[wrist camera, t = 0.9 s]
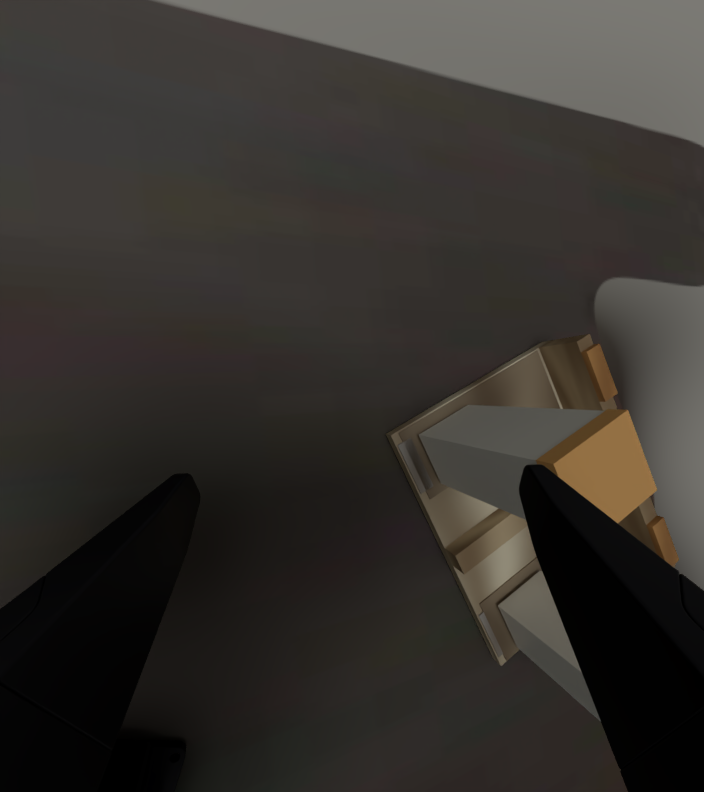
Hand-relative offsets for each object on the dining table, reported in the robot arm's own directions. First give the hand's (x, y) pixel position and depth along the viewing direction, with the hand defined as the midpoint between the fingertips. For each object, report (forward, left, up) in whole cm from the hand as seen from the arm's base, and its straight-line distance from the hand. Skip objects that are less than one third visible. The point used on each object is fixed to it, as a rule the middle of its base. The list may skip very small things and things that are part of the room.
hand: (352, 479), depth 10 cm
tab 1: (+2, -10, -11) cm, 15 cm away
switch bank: (0, -17, -12) cm, 21 cm away
